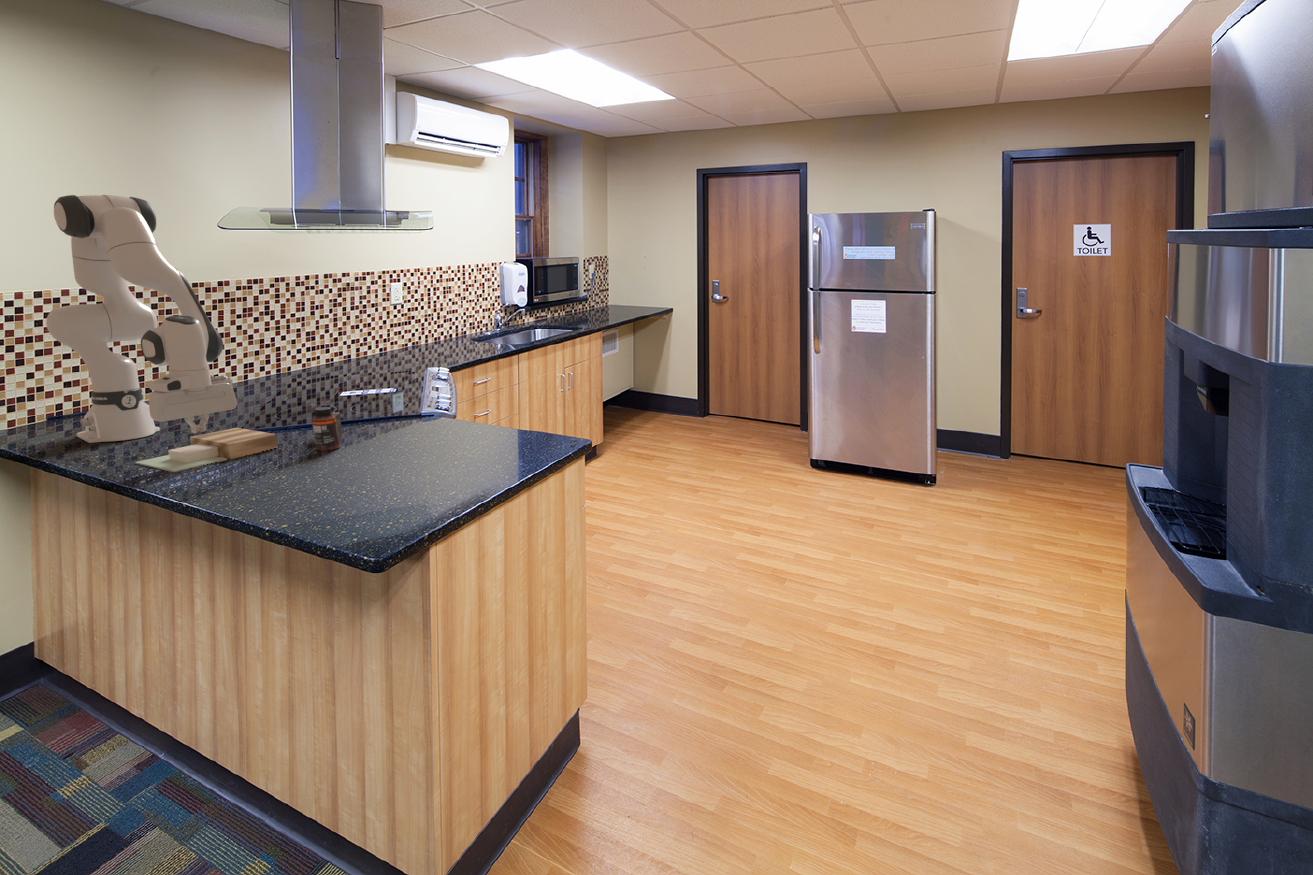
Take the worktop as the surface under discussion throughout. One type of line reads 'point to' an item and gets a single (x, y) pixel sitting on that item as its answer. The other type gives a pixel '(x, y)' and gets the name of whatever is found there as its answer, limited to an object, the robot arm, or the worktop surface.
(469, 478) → the worktop surface
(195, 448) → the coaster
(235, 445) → the serving board
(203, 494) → the worktop surface
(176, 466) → the mat
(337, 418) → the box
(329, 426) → the supplement bottle
